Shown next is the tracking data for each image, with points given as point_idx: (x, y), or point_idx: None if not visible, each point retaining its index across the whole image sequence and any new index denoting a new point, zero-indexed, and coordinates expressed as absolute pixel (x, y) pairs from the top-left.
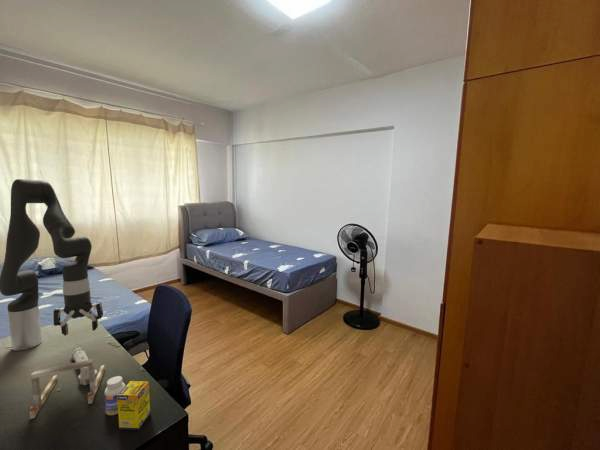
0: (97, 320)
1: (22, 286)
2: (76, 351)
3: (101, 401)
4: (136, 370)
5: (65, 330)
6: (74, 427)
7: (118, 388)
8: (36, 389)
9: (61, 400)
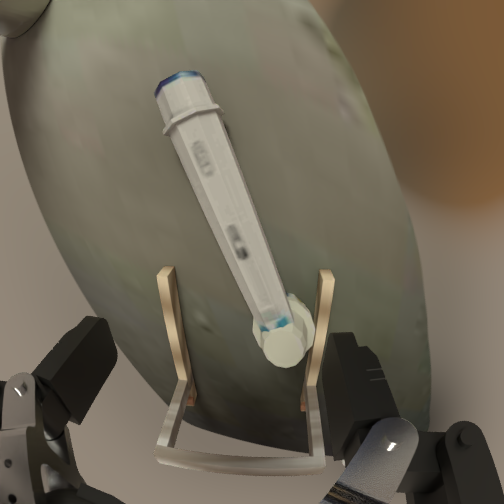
0: (394, 415)
1: None
2: (181, 133)
3: None
4: (419, 313)
5: (95, 390)
6: (285, 433)
7: None
8: (179, 425)
9: (231, 368)
